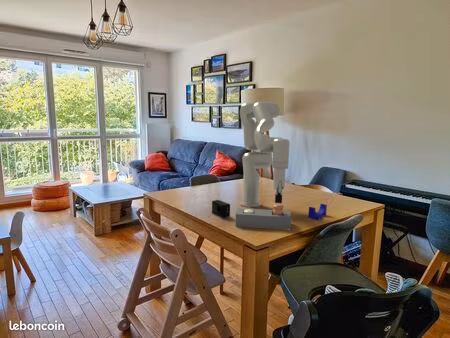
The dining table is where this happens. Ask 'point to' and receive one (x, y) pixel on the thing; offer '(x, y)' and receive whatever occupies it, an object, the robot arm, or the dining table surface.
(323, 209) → the blue curved block
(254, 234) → the dining table surface
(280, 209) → the terracotta plug
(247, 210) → the plug
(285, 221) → the block
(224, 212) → the digital camera
